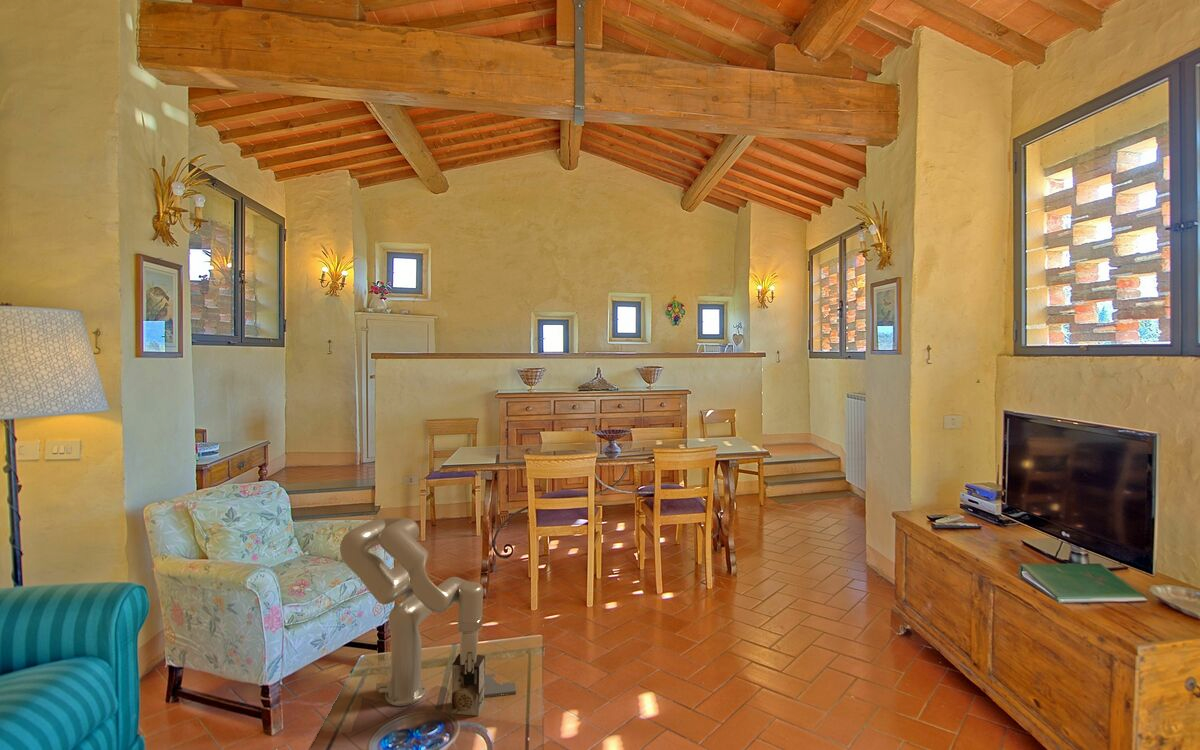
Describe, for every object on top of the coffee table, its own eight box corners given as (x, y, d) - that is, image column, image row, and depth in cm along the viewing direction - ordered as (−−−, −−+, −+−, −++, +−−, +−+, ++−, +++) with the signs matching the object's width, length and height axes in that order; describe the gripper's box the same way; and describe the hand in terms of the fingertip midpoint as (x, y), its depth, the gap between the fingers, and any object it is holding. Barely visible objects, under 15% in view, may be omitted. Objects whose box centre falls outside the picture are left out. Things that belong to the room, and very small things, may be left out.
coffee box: (485, 703, 177) (486, 655, 176) (478, 716, 170) (480, 666, 170) (457, 700, 178) (459, 652, 177) (450, 713, 171) (451, 663, 171)
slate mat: (482, 697, 180) (482, 694, 179) (481, 677, 190) (481, 675, 190) (515, 693, 182) (515, 691, 182) (512, 674, 193) (513, 671, 193)
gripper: (458, 611, 180) (457, 661, 181) (457, 638, 163) (456, 693, 164) (481, 609, 182) (480, 659, 183) (483, 636, 165) (481, 691, 166)
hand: (468, 675), depth 174 cm, fingers open, 9 cm apart
